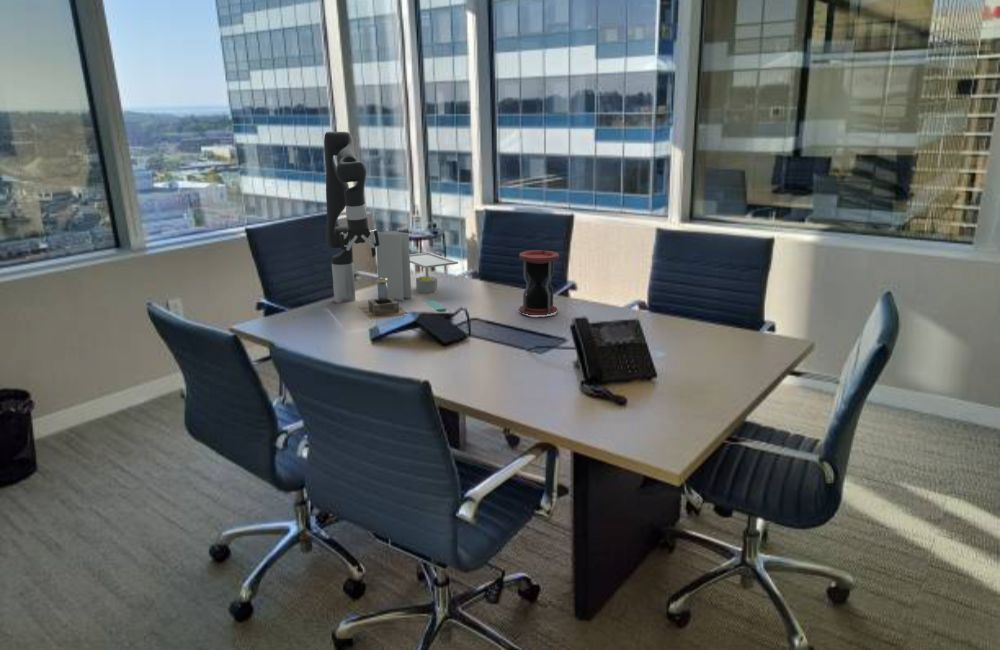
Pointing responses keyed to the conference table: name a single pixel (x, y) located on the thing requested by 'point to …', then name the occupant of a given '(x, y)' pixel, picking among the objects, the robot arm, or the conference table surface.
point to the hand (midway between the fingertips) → (361, 257)
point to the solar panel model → (426, 262)
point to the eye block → (383, 309)
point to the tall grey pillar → (394, 263)
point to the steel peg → (382, 290)
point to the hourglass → (538, 282)
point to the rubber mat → (436, 305)
